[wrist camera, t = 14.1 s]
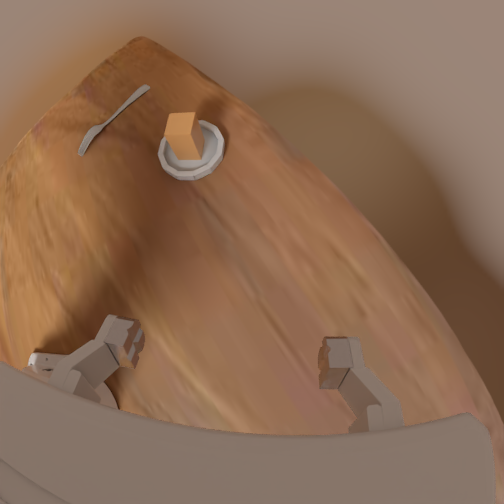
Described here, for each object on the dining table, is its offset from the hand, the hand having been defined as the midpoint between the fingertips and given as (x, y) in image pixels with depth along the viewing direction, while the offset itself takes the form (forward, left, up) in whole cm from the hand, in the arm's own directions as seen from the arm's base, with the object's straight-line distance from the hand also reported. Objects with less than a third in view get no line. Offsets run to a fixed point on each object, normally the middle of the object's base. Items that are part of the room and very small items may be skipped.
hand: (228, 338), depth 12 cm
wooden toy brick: (-12, +25, -29) cm, 40 cm away
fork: (-31, +34, -30) cm, 55 cm away
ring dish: (-12, +25, -29) cm, 41 cm away
